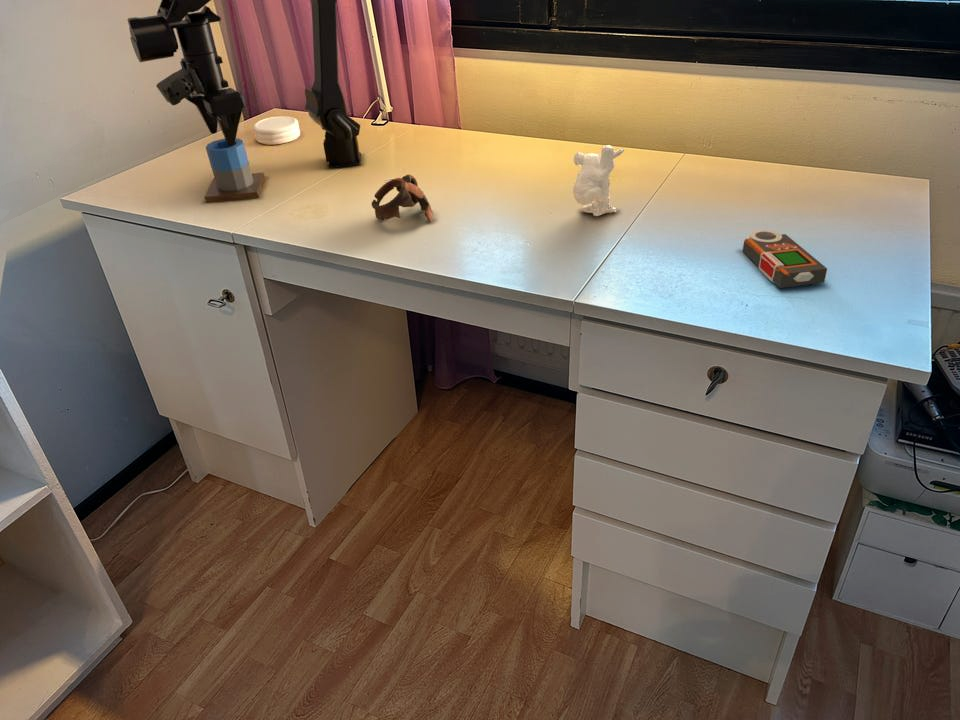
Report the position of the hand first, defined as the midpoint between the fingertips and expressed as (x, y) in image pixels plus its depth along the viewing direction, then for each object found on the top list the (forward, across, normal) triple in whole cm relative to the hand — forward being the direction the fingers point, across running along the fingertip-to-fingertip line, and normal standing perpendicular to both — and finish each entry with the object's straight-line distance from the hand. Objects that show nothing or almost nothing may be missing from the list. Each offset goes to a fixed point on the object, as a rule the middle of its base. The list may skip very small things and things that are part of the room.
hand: (222, 139), depth 138 cm
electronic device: (+10, +86, +52) cm, 101 cm away
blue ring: (+5, 0, 0) cm, 5 cm away
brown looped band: (+10, +34, +19) cm, 40 cm away
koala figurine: (+10, +55, +45) cm, 71 cm away
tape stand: (+10, 0, 0) cm, 10 cm away
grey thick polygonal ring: (+9, 0, 0) cm, 9 cm away
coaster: (+10, -23, +19) cm, 31 cm away
